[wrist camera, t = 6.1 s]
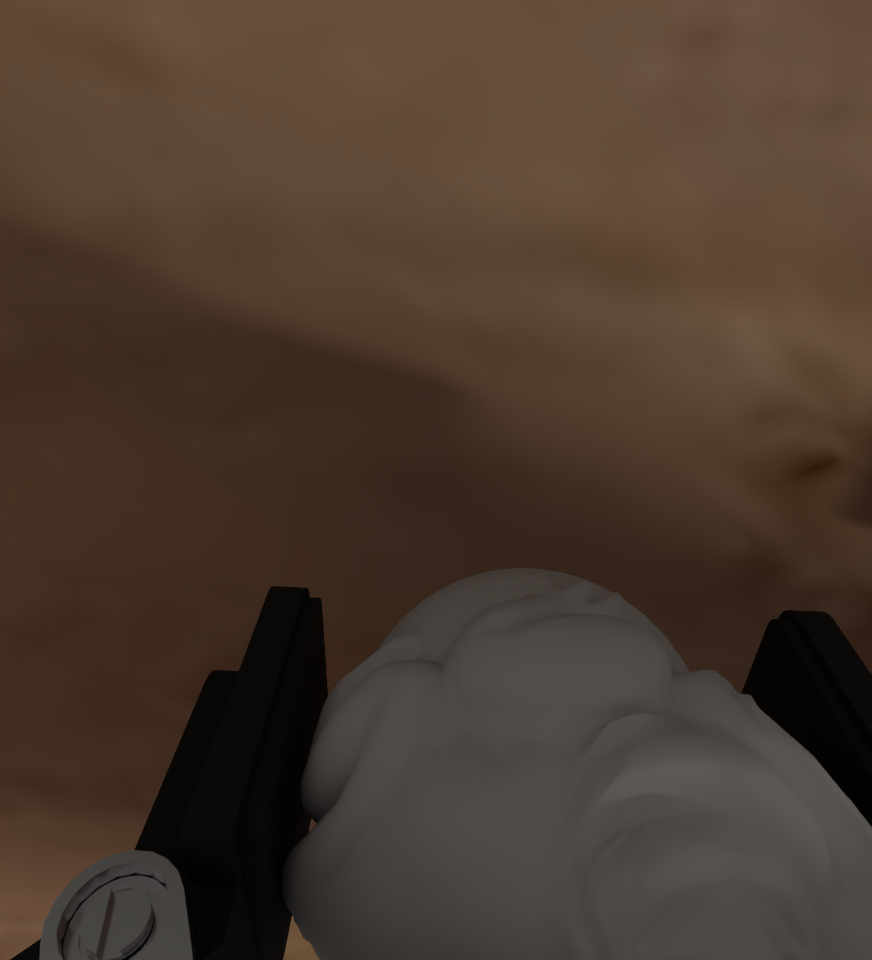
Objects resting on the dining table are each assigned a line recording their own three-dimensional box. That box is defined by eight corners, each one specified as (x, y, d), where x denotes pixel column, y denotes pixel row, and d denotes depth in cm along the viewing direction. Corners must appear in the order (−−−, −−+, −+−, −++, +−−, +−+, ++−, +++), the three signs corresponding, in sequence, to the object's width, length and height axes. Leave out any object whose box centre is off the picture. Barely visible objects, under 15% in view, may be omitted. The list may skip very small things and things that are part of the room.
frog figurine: (744, 710, 13) (1000, 1285, 7) (385, 759, 14) (325, 1291, 8) (735, 424, 10) (1187, 997, 4) (276, 516, 11) (41, 1076, 5)
